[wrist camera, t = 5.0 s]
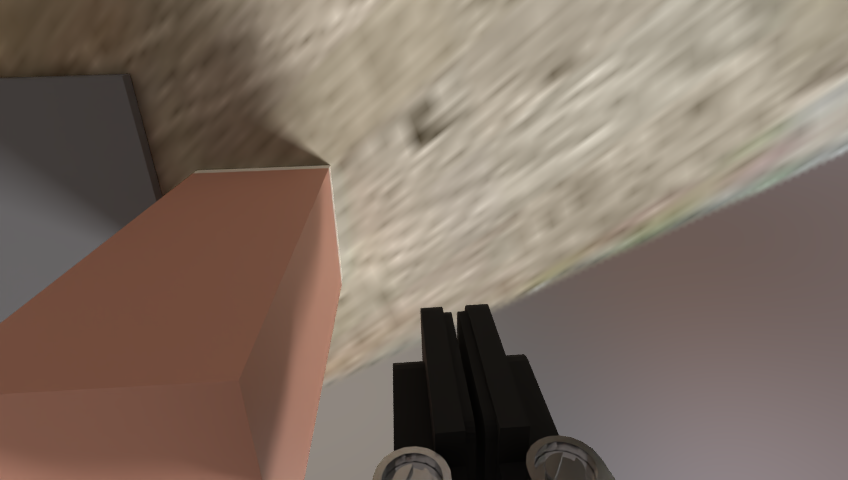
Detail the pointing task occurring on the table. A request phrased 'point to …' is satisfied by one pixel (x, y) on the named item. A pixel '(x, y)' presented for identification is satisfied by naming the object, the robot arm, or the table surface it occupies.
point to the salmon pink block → (181, 339)
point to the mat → (66, 175)
